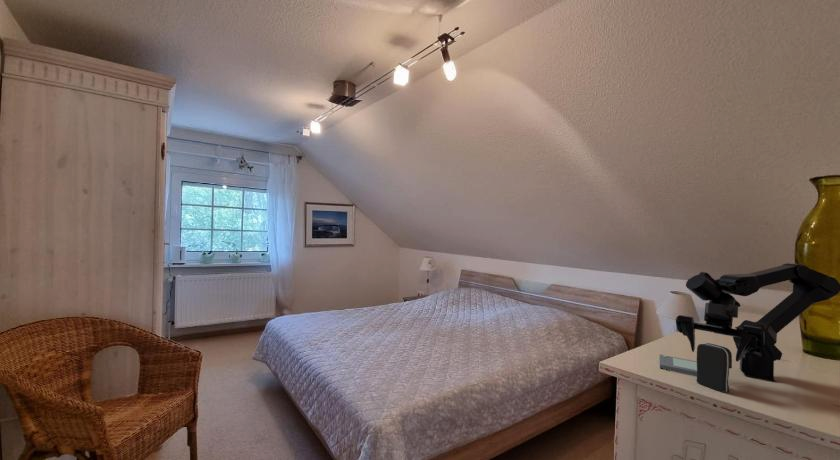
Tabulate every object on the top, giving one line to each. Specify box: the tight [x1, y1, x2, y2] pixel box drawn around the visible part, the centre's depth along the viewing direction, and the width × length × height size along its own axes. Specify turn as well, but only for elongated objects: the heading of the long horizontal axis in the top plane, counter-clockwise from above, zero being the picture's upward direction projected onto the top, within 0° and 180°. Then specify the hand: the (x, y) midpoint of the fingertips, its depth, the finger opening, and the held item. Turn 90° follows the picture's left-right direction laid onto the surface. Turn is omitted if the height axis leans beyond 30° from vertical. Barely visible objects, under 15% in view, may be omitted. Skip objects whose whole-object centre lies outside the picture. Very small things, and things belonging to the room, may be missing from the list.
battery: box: [696, 342, 733, 393], centre depth 93 cm, size 7×4×11 cm, turn 22°
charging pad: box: [659, 354, 697, 377], centre depth 106 cm, size 14×12×1 cm
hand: (714, 355), depth 93 cm, fingers open, 9 cm apart
